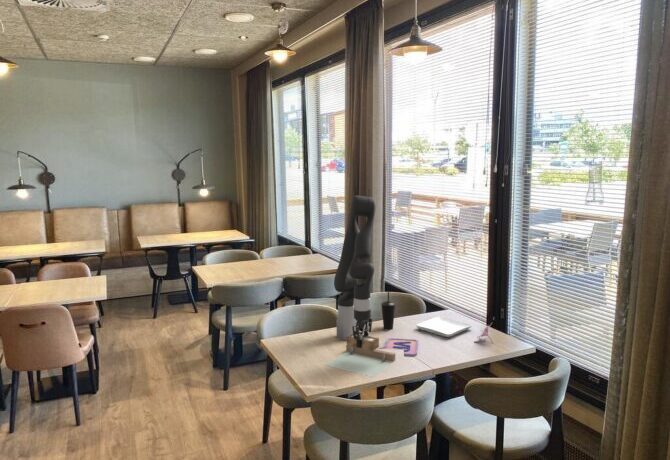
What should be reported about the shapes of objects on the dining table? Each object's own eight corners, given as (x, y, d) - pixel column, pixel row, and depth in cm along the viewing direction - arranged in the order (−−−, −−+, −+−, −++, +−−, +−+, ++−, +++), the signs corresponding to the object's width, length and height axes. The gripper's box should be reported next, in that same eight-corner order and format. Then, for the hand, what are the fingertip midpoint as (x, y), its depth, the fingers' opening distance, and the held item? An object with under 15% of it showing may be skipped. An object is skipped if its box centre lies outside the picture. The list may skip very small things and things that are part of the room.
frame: (346, 345, 225) (346, 336, 224) (352, 341, 229) (352, 332, 229) (373, 350, 218) (373, 341, 217) (378, 346, 223) (378, 337, 222)
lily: (490, 338, 256) (480, 321, 257) (506, 336, 246) (496, 318, 246) (474, 350, 250) (465, 332, 251) (490, 348, 240) (480, 330, 240)
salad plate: (439, 321, 280) (439, 315, 280) (472, 330, 265) (473, 324, 264) (414, 330, 266) (414, 324, 266) (448, 341, 251) (449, 334, 250)
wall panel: (325, 367, 222) (324, 358, 221) (348, 351, 238) (348, 343, 238) (374, 379, 209) (374, 370, 208) (395, 362, 226) (395, 353, 225)
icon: (377, 337, 254) (418, 339, 250) (377, 340, 254) (418, 342, 250) (372, 351, 235) (416, 354, 231) (372, 354, 236) (416, 357, 232)
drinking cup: (391, 331, 264) (391, 294, 261) (378, 329, 268) (378, 292, 265) (398, 327, 270) (398, 290, 267) (385, 325, 274) (385, 288, 271)
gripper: (362, 313, 213) (362, 352, 216) (377, 304, 225) (377, 341, 228) (346, 310, 217) (347, 349, 220) (362, 302, 229) (363, 338, 232)
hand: (362, 344), depth 224 cm, fingers closed on frame, 5 cm apart
